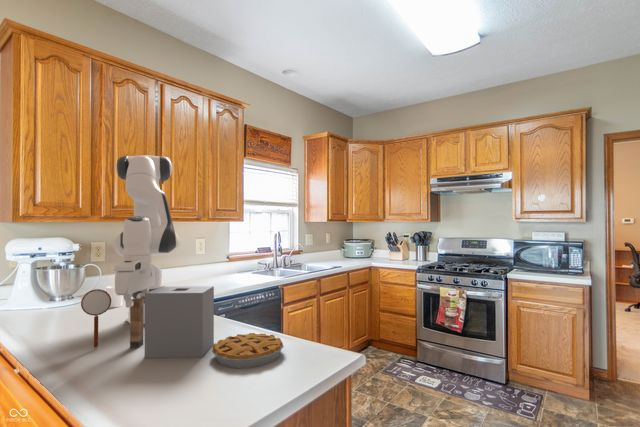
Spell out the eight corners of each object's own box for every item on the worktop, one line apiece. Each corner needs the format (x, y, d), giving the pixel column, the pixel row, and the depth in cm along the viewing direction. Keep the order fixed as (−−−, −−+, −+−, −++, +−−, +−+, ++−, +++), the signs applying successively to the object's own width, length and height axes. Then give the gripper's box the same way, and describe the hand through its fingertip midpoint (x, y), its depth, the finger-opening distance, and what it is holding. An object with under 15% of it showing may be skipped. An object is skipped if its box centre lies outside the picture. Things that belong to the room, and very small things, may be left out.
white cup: (122, 307, 180) (122, 287, 181) (104, 308, 177) (104, 288, 178) (124, 304, 188) (124, 285, 188) (107, 305, 185) (107, 286, 185)
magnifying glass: (111, 347, 121) (111, 287, 122) (110, 348, 120) (111, 288, 120) (81, 350, 118) (81, 289, 118) (80, 352, 116) (80, 290, 117)
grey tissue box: (161, 345, 123) (161, 286, 124) (213, 344, 123) (213, 286, 124) (144, 358, 111) (144, 293, 112) (202, 357, 111) (202, 292, 112)
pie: (297, 356, 112) (297, 340, 112) (236, 377, 97) (235, 359, 97) (257, 340, 128) (257, 326, 128) (199, 356, 112) (199, 340, 112)
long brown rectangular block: (134, 344, 123) (134, 298, 124) (143, 344, 123) (143, 298, 124) (129, 347, 120) (130, 300, 121) (138, 347, 120) (139, 300, 121)
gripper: (142, 261, 133) (142, 298, 132) (110, 266, 113) (110, 310, 112) (159, 260, 133) (159, 298, 132) (130, 266, 113) (130, 310, 112)
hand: (136, 304), depth 122 cm, fingers open, 8 cm apart
